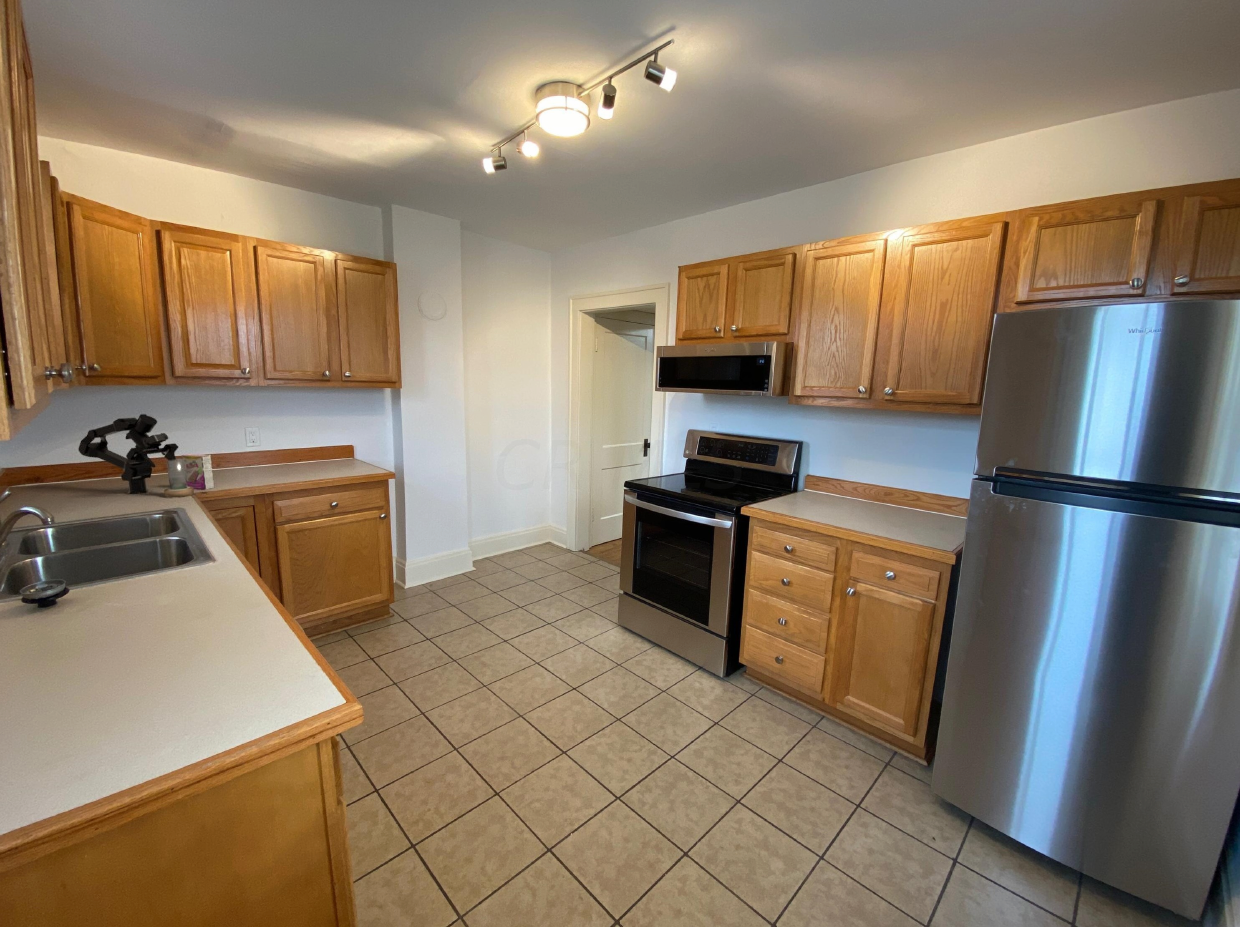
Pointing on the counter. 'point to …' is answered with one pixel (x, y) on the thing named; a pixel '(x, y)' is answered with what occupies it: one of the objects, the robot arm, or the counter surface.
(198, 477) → the candy bar box
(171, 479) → the grey tin
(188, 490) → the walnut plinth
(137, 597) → the counter surface
